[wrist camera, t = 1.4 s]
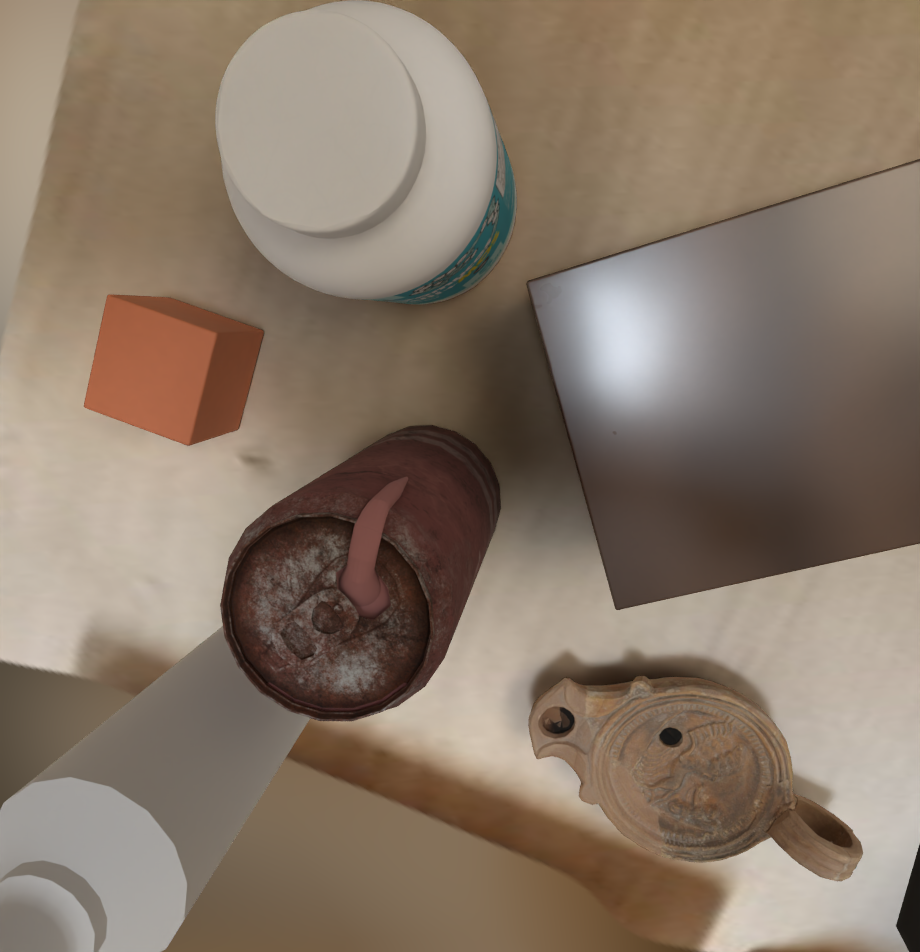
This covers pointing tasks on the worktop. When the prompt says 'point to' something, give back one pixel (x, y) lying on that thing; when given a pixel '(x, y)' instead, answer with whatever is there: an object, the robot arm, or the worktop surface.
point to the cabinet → (746, 389)
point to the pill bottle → (365, 155)
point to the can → (361, 575)
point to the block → (172, 368)
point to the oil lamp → (688, 771)
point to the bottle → (140, 811)
